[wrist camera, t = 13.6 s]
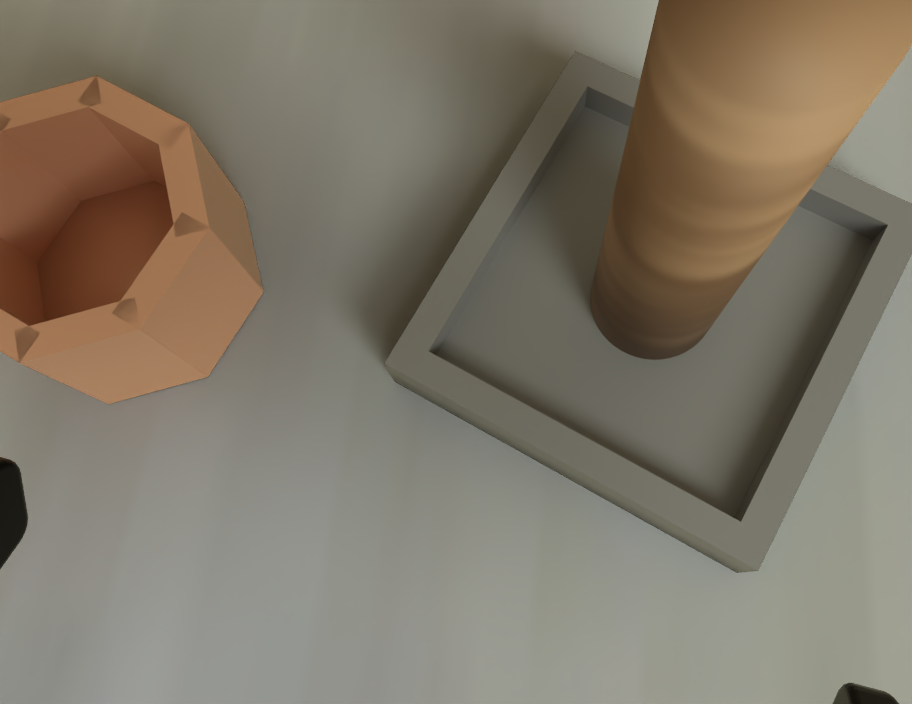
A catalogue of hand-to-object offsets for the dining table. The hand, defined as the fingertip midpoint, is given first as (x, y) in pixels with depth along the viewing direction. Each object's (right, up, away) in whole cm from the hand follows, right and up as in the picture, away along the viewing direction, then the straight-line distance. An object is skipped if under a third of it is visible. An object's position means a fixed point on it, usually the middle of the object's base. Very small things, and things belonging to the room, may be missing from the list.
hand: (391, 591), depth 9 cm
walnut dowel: (+6, +4, +13) cm, 15 cm away
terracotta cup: (-8, +5, +16) cm, 18 cm away
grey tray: (+6, +4, +14) cm, 16 cm away
